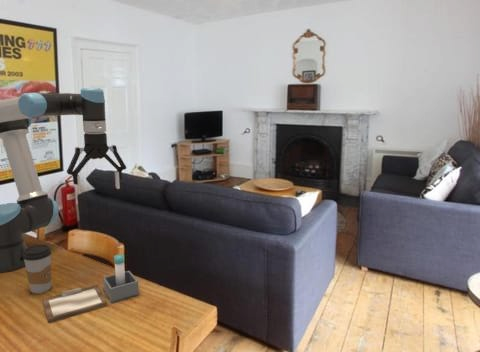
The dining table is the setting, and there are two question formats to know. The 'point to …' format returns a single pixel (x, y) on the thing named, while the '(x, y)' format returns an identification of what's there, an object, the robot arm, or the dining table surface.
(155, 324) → the dining table surface
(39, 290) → the coffee cup
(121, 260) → the marker
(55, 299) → the clipboard
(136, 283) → the grey open box
